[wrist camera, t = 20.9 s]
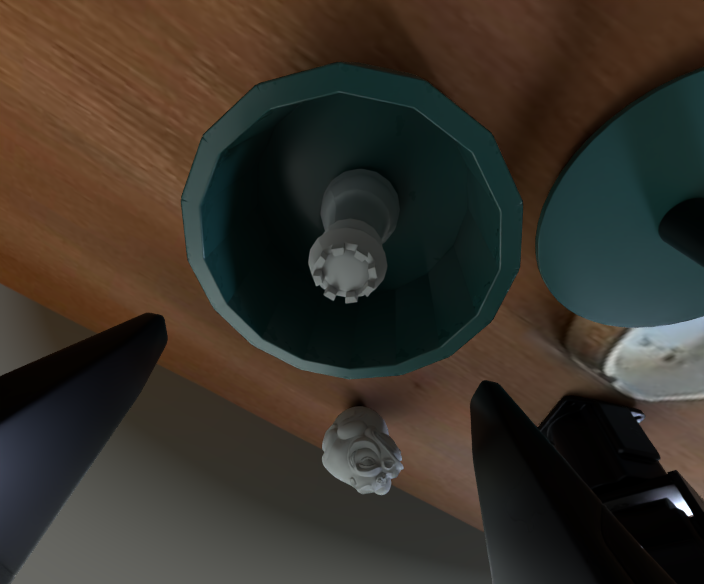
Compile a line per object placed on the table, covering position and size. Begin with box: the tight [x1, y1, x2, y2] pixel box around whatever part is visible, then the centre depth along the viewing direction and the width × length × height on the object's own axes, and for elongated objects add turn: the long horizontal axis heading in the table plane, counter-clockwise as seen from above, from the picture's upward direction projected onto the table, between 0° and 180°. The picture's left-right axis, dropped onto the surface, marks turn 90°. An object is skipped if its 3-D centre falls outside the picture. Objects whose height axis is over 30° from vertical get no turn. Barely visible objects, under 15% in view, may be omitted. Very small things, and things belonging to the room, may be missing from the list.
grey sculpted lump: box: [322, 406, 404, 495], centre depth 28 cm, size 6×7×7 cm
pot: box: [181, 62, 523, 379], centre depth 17 cm, size 14×14×8 cm
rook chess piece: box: [308, 169, 400, 303], centre depth 17 cm, size 4×4×8 cm
